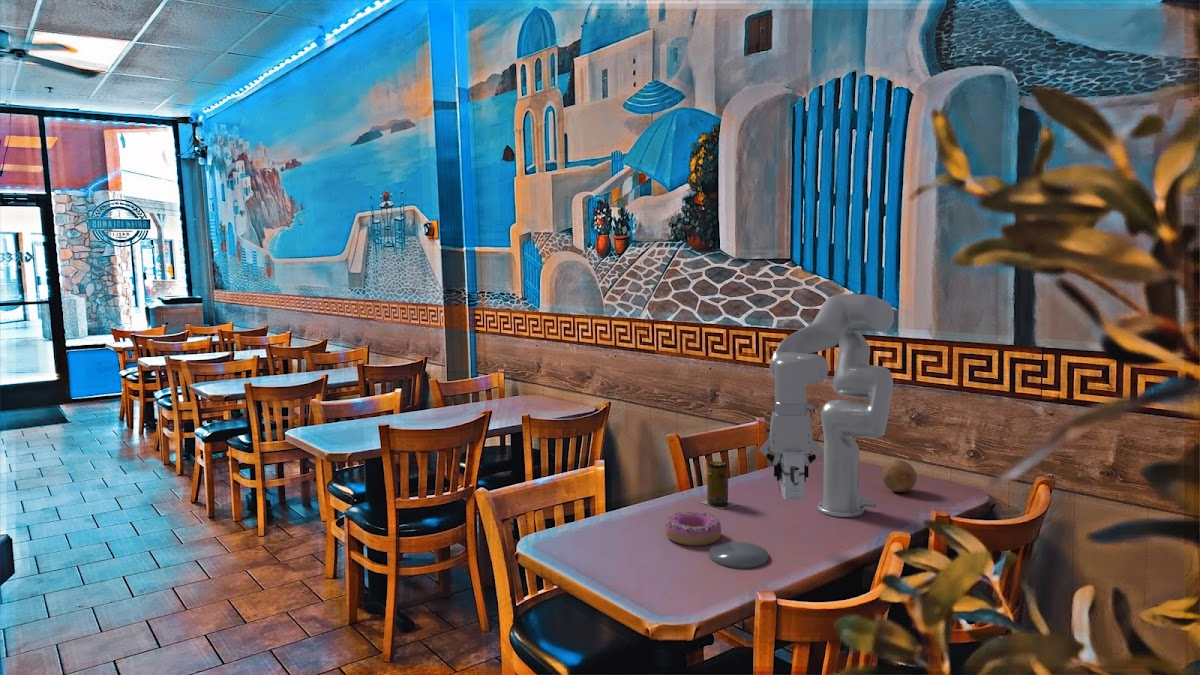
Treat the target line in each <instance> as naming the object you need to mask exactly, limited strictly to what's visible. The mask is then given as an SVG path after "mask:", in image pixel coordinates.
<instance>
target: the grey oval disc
mask: <svg viewBox="0 0 1200 675" xmlns="http://www.w3.org/2000/svg"><path fill="white" fill-rule="evenodd" d="M708 552H709V554H708V556H709V559H710V560H711V561H713V563H716V564H717V565H720V566H723V567H727V568H731V569H754V568H757V567H761V566H763V565H765V564H767V562H768V561H769V553H768V550H766V549H765V548H763V547H762V546H760V545H757V544H754V543H752V542H751V543H749V542H743V541H727V542H725V541H724V542H719V543H716V544H714V545H712V546H711V547H710V548H709V551H708Z"/></svg>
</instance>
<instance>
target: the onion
mask: <svg viewBox="0 0 1200 675" xmlns="http://www.w3.org/2000/svg"><path fill="white" fill-rule="evenodd" d="M917 479H918V476H917V472H916V470H915V468H914V467H913V466H912V465H911V463H909V462H907V461H906V460H904V459H892V460H890V461H889V462H888V463H887V464H886V465H885V466H884V468H883V470H882V482H883V483H884V484H885V486H886V487H887V488H888V489H889V490H890V491H892V492H894V493H895V492H896V493H907V492H909V491H911V490H912V489H913V487H914V486H915V484H916V483H917V481H918V480H917Z"/></svg>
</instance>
